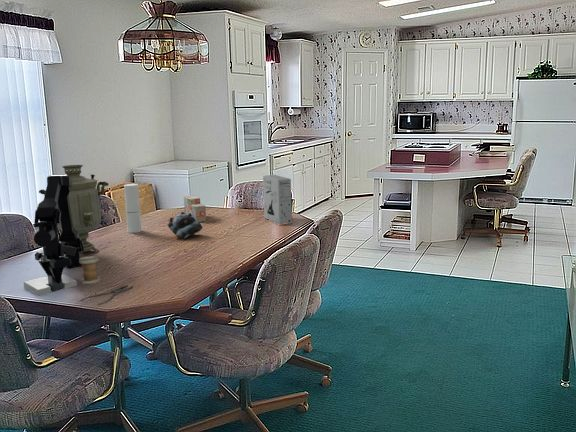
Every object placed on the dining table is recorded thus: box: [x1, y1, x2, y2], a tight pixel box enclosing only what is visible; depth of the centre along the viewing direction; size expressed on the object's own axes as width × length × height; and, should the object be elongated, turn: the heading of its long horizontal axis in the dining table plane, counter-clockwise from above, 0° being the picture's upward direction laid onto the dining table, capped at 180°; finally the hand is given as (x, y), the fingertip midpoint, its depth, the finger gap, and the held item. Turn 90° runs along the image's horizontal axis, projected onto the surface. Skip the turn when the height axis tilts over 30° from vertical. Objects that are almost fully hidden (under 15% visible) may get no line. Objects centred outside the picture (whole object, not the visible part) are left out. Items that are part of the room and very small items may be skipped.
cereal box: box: [262, 174, 293, 225], centre depth 317 cm, size 22×8×25 cm, turn 25°
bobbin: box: [79, 255, 101, 285], centre depth 215 cm, size 7×7×9 cm
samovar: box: [38, 164, 109, 255], centre depth 254 cm, size 30×26×40 cm
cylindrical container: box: [123, 183, 142, 234], centre depth 299 cm, size 7×7×25 cm
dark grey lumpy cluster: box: [167, 211, 203, 241], centre depth 286 cm, size 15×12×14 cm
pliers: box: [80, 284, 134, 306], centre depth 201 cm, size 10×1×20 cm
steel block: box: [48, 274, 64, 292], centre depth 208 cm, size 4×4×6 cm
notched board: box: [23, 273, 78, 296], centre depth 212 cm, size 14×14×2 cm
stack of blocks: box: [183, 195, 207, 223], centre depth 330 cm, size 21×6×12 cm, turn 27°
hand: (55, 281), depth 208 cm, fingers open, 6 cm apart
